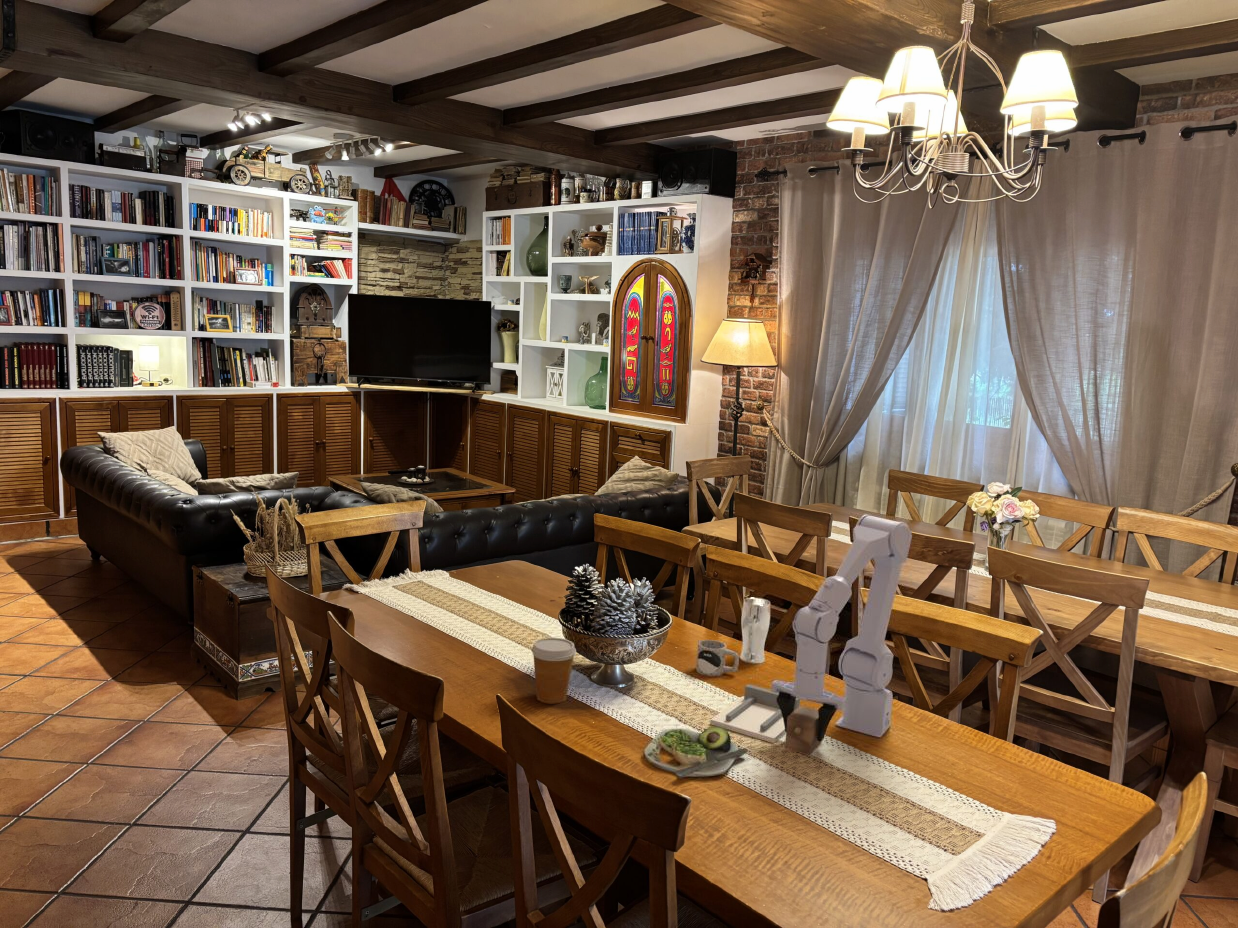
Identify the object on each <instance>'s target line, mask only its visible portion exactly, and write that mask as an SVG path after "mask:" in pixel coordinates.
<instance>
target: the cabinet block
mask: <svg viewBox="0 0 1238 928" xmlns="http://www.w3.org/2000/svg"><path fill="white" fill-rule="evenodd" d="M818 727H819V715H818V709H815V708H810V707H807V706H804V705H800V704H799V707H798V708H797V709H796V710H795V711H794V712H792V713H791V714H790V715H789V716H788V718H787V729H786V733H785V742H784V743H785V744H784V748H785V749H787V750H790V751H794V752H798V753H801V754H804V755H807V756H810V755H811V754H812V753H813V752H814V751H815V750H816V749H817V748H818V747H819V746H820V745H821V744H823V743H822V741H823V740H822V741H821V742H820V741H817V734H818Z"/></svg>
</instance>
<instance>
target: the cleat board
mask: <svg viewBox="0 0 1238 928" xmlns="http://www.w3.org/2000/svg"><path fill="white" fill-rule="evenodd" d="M778 695H779V692H777V693H774V692H771V689H767V688H765V687H760V686H756V685H752V684H749V683H747V684H746V685H745V686H744V695H743V696H741V697H739V698H738V699H737V700H735V701H733V703H731V704H730V705H729V706H727V707H725V708H724V709H723V710H722V711H720V712H719V713H717V714H716V715H714V716H713V717H712V718H711V719H710V720H709V721H710V722H709V723H710V724H709V725H713V726H714V727H720V728H724V729H725V730H728V731H732V732H736V733H738V734H743V735H745V736H749V737H751V738H755V739H758V740H763V741H765V742H769V743H771V744H775V743H776V742H777V741H778V740H779V739H780V738H782V737H783V736H784V735H786V732H785V726H784V721H783V716H782V713H781V710H780V708H779V705H778V703H777V701H776V698H777V697H778ZM800 701H801V700H800V699H797V698H796V700H795V705H794V711H795V710H796V709H797V708H798V707H799V706H800V703H801V702H800Z"/></svg>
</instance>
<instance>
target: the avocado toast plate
mask: <svg viewBox="0 0 1238 928" xmlns="http://www.w3.org/2000/svg"><path fill="white" fill-rule="evenodd" d="M727 730H728V729H725V728H721V727H718V726H709V727H708V728H704V731H702V732H696V731H695V730H694V731H693V730H690V729H686V728H669V729H664V730H662V731H660V732H658V733H657V734H656V735H655V737H654V738H653V739H652V740H651V741H650V743H648V744H647V746H646V747H645V748H644V750H643V751H644V752H643V753H644V757H645V758H646V759H647V761H648V762H649V763H651V764H652V765H653V766H654V767H657V769H660V770H662V771H664V772H665V771H666V772H669V773H671V774H674V775H675V776H676V777H678V778H685V777H687V778H689V777H691V778H698V777H701V778H702V777H712V776H720V775H723V774H724V773H726V772H727V771H728V770H729V769H730V768H731V766H732V765H733V763H734V761H736V760H737V759H739V758H741V757H742V756H744V755H745V754H747V753H749V751H748V748H745V747H744V748H743V747H742V748H739V746H738V745H737V744H736V743H735V742H733V741H731V736H730V734H729V732H728V731H727ZM661 749H663V750H664V751H665V752H667V753H669V754H671V755H673V757H674V760H675V761H674V763H667V762H664V761H662V760H661V758H660V755H659V753H660V752H661Z"/></svg>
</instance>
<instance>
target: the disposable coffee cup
mask: <svg viewBox="0 0 1238 928" xmlns="http://www.w3.org/2000/svg"><path fill="white" fill-rule="evenodd" d="M531 653H532V656H533V662H534V663H533V666H534V680H535V690H536V691H535V692H536V699H537V701H539V702H542V703H544V704H550V705H551V704H560V703H563V702H564V701H566V699H567V694H568V688H569V683H570V679H571V673H572V667H573V661H574V657H575V654H576V653H577V649H576V648H575V643H574V642H573V641H571V640H568V639H565V638H561V637H559V638H558V637H544V638H543V637H542V638H540V639H537V640H535V641H534V643H533V645H532V647H531Z"/></svg>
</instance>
